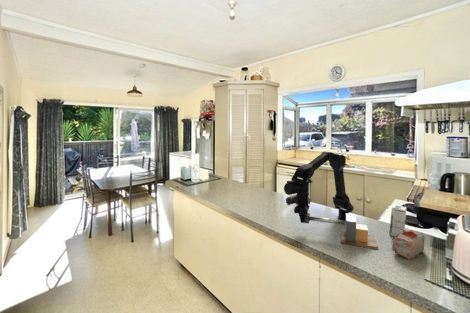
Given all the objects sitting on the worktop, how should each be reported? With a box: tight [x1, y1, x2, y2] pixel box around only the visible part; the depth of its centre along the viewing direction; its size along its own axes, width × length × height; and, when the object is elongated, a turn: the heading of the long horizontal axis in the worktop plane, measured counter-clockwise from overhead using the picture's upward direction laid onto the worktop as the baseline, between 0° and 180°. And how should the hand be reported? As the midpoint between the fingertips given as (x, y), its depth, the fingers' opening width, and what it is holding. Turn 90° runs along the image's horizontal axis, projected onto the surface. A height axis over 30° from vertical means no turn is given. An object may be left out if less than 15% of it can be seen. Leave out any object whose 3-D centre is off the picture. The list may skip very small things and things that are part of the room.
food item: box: [391, 229, 425, 260], centre depth 103 cm, size 14×8×10 cm, turn 122°
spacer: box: [356, 223, 369, 243], centre depth 114 cm, size 6×5×6 cm
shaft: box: [302, 212, 345, 226], centre depth 120 cm, size 4×20×4 cm, turn 68°
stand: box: [340, 213, 379, 250], centre depth 114 cm, size 12×15×11 cm
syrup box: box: [388, 204, 408, 238], centre depth 119 cm, size 6×6×14 cm
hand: (302, 221), depth 124 cm, fingers closed on shaft, 4 cm apart
